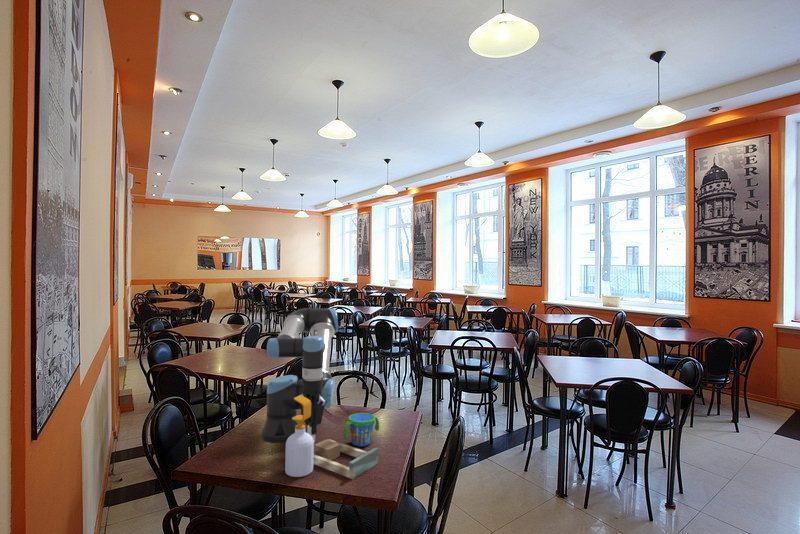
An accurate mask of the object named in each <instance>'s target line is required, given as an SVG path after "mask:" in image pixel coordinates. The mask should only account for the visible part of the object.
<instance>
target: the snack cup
mask: <svg viewBox="0 0 800 534" xmlns="http://www.w3.org/2000/svg"><path fill="white" fill-rule="evenodd" d="M348 428H349V432H350V439H351V443H352V445H353V446H356V447H366V446H368V445H371V443H372V439H373V433H374V430H375V431H377V432H378V431H379V430H380V423H379V419H378V417H377V416H375V415H374V414H372V413H367V412H358V413H357V412H356V413H352V414H350V415H349V416H348V420H347V422H346V423H345V424H344V427H343V432H342V436H343V438H344V440H348Z"/></svg>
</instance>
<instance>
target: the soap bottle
mask: <svg viewBox="0 0 800 534" xmlns="http://www.w3.org/2000/svg"><path fill="white" fill-rule="evenodd" d="M294 400H295V401H297V402H299V403H300V404H302V406H303V415H301V414H297V416H295V417H293V418H292V420H296V422H297V423H298V425H296V426H295V433H294V434H292V435H291V436H290V437H289V438H288V439H287V441H286V442H285V459H284V461H285V463H284V465H285V466H284V467H285V468H284V470H285V474H286V475H287V476H288V477H292V478H300V477H305V476H308V475H310V474H312V472H313V471H314V464H313V455H314V444H315V442H314V440H313V437H312V436H311V435H310V434H308V433H307V432H306V424H304V423H305V422H304V420H306V419H307V418H309V417H310V416H311V401H310V400H309V399H307V398H306V397H304V396H302V395H299V396H297V397H295V398H294Z"/></svg>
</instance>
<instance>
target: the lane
mask: <svg viewBox="0 0 800 534" xmlns="http://www.w3.org/2000/svg"><path fill="white" fill-rule="evenodd" d="M327 440H330V441H333V442H335V443H338V444H340V453H342V454H345V455H348V456H350V457H354V459H353V460H351V461H349V463H348V464H349V466H347V465H344V464H342V463H339V462H337V461H333V460H328V459H326V458H323V457H320V456H317V455H315V454H314V455H313V465H315V466H318V467H320V468H323V469H325V470H327V471H331V472H334V473H335V474H337V475H341V476H343V477H346V478H348V479H351V480H354V479H355V478H357V477H358V476H360V475H362V474H363V473H365V472H366V471H368V470H369V469H371V468H373V467H374V466H376V465H378V464H379V461H380V460H379V457H380V456H379V455H380V454H379V453H380V449H379V447H374V448H371V449H369V450H368V451H367V450H363V449H360V448H358V447H354V446H351V445H349V444H346V443H343V442H342V443H341V442H339V441H336V440H332V439H330V438H328V439H327Z"/></svg>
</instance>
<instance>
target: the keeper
mask: <svg viewBox="0 0 800 534" xmlns="http://www.w3.org/2000/svg"><path fill="white" fill-rule="evenodd" d="M330 440H331V439H330ZM330 440H327V439H324V440H322V441H318V443H314V454H315V455H317V456H320V457H323V458H326V459H328V460H331V461H333V460H335V459H337V458H339V457H341V452H340V444H338V443H335V442H333V441H334V440H333V441H330Z"/></svg>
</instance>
